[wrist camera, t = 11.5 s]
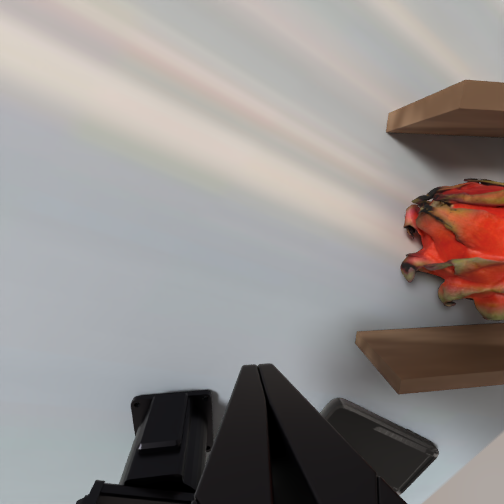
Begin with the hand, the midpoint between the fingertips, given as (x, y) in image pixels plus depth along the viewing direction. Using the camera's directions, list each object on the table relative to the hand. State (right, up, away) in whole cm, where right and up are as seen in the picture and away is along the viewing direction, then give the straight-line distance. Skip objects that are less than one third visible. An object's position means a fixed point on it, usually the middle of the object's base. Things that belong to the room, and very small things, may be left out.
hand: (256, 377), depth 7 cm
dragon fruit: (+15, +5, +13) cm, 20 cm away
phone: (+12, -17, +19) cm, 28 cm away
